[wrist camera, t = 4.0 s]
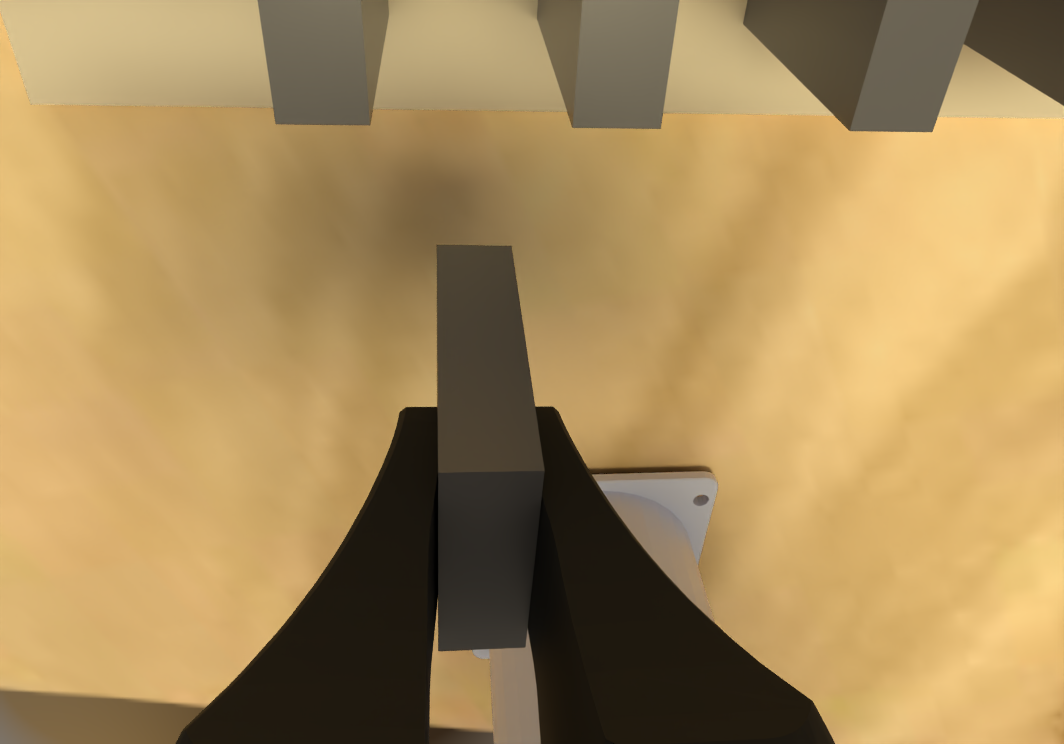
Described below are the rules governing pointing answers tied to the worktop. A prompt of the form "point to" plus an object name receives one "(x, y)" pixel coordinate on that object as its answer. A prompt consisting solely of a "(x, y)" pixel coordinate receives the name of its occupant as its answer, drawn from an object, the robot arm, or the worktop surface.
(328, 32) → the domino
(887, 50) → the domino
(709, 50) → the board
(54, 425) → the worktop surface
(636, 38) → the domino
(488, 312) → the domino
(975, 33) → the domino
